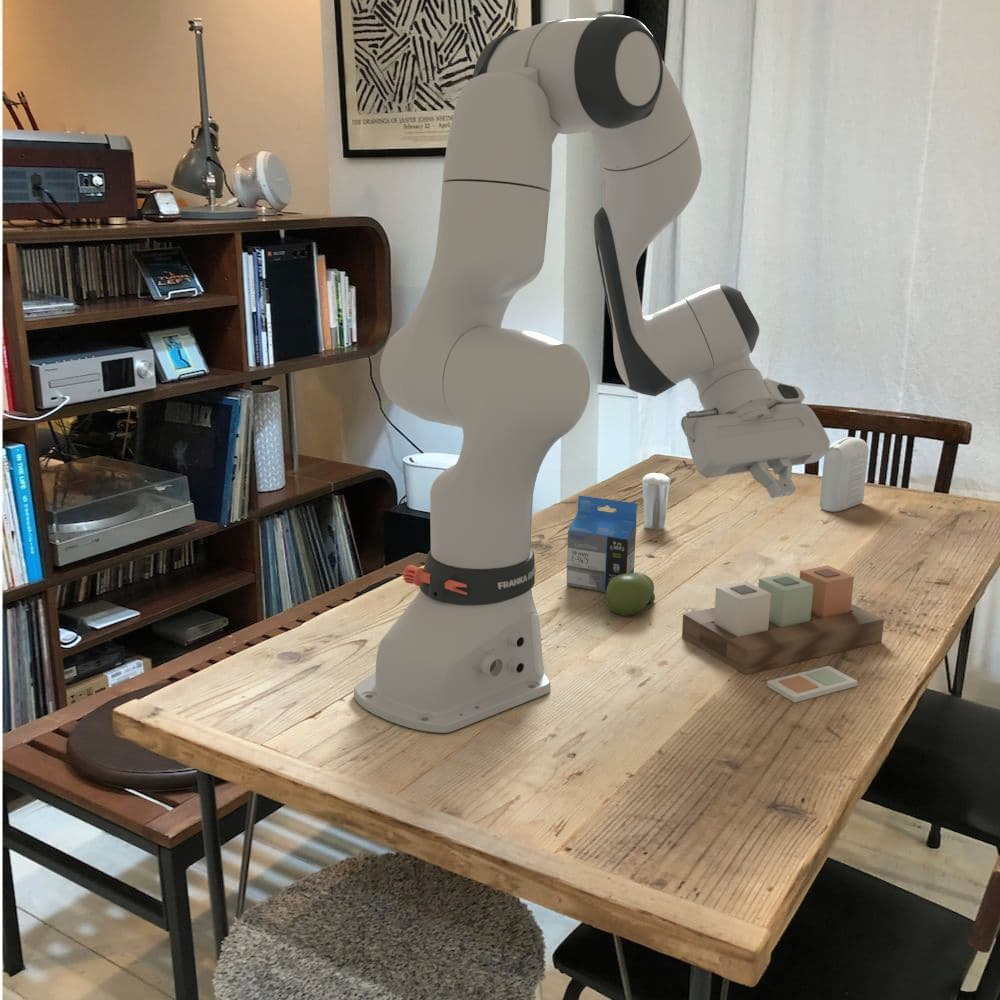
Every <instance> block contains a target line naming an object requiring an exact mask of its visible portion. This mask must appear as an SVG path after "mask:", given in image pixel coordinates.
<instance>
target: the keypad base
mask: <svg viewBox="0 0 1000 1000" xmlns="http://www.w3.org/2000/svg"><path fill="white" fill-rule="evenodd" d="M714 611H715V607H711V608H706V609H701V610H696V611H691V612H685V613H683V614H682V630H681V637H682V638H684V639H686V640H687V641H688V642H690V643H692V644H694V645H695V646H697V647H699V648H700V649H702V650H703V651H704V652H706V653H708V654H710V655H711V656H714V657H715V658H717V659H718V660H720V661H721V662H723V663H725V664H727V665H728V666H730V667H731V668H733V669H734V670H737V671H738V672H740V673H741V674H743V675H745V676H746V675H751V674H754V673H758V672H762V671H768V670H771V669H775V668H778V667H783V666H788V665H791V664H796V663H800V662H804V661H808V660H812V659H817V658H820V657H825V656H829V655H833V654H838V653H840V652H845V651H848V650H852V649H856V648H857V649H858V648H861V647H865V646H870V645H874V644H878V643H882V640H883V631H884V624H885V623H884V622H885V619H884V618H883V617H881V616H878V615H877V614H874V613H872V612H869V611H868V610H866V609H863V608H861V607H859V606H857V605H854V604H852V603H851V611H850V612H848V613H844V614H839V615H835V616H830V617H826V618H821V617H819V616H817V615H815V614H813V613H811V617H810V621H808V622H803V623H799V624H794V625H790V626H785V627H779V626H777V625H775V624H774V623H772V622H770V621H769V625H768V630H767V631H763V632H758V633H754V634H749V635H745V636H740V637H736V636H735V635H733V634H731V633H729V632H728V631H726V630H724V629H722V628H720V627H719V626H717V625H715V624H714Z"/></svg>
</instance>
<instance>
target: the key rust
mask: <svg viewBox="0 0 1000 1000" xmlns="http://www.w3.org/2000/svg"><path fill="white" fill-rule="evenodd" d="M799 578H800V579H802V580H804V581H806V582H808V583H811V584H813V596H812V607H811V613H813V614H815V615H817V616H819V617H821V618H826V617H830V616H835V615H839V614H844V613H848V612H850V611H851V604H852V599H853V591H854V590H853V589H854V580H855V576H854V575H851V574H850V573H847V572H844V571H842V570H840V569H837V568H835V567H832V566H830V565H823V566H817V567H814V568H809V569H808V568H806V569H802V570H800V571H799Z"/></svg>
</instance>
